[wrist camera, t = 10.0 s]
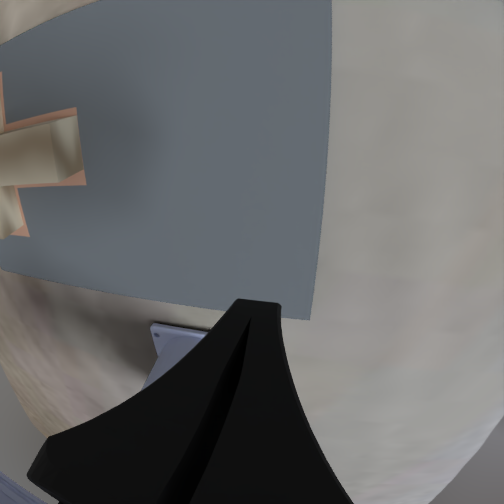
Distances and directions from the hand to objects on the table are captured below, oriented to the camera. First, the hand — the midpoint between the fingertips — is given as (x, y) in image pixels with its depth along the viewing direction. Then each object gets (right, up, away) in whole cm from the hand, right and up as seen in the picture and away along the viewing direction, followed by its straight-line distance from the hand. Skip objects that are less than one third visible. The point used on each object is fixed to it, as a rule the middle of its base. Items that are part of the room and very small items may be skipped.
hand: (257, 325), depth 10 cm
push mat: (-11, +8, +8) cm, 16 cm away
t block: (-17, +10, +8) cm, 21 cm away
